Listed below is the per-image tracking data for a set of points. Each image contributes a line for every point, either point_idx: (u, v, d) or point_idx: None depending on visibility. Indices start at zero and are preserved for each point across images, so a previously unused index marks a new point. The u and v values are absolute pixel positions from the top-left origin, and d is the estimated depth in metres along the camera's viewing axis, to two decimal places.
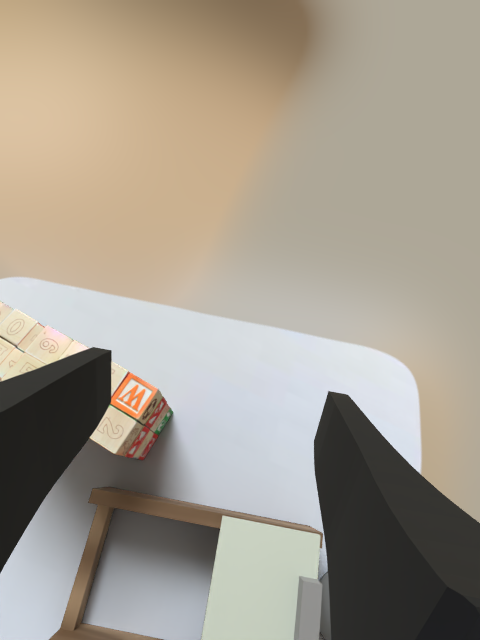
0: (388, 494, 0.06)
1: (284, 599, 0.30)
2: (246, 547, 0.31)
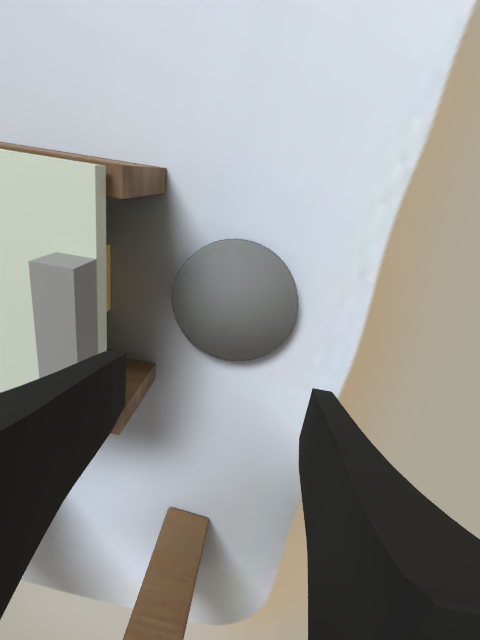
0: (361, 488, 0.06)
1: None
2: None
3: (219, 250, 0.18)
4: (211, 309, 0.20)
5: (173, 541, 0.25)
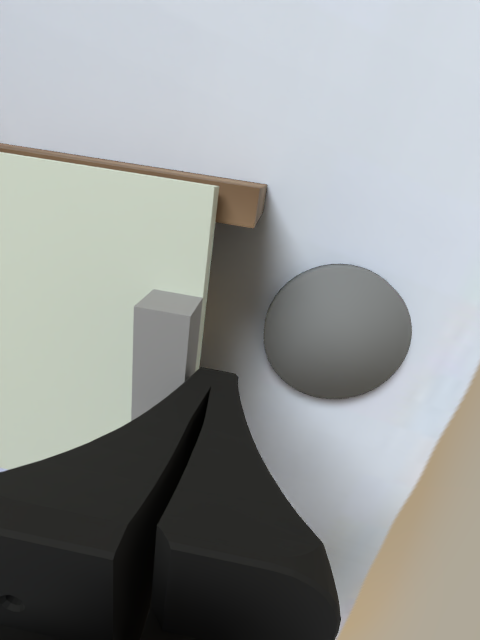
0: (197, 456, 0.07)
1: (120, 335, 0.12)
2: (4, 224, 0.11)
3: (325, 278, 0.16)
4: (308, 342, 0.17)
5: None
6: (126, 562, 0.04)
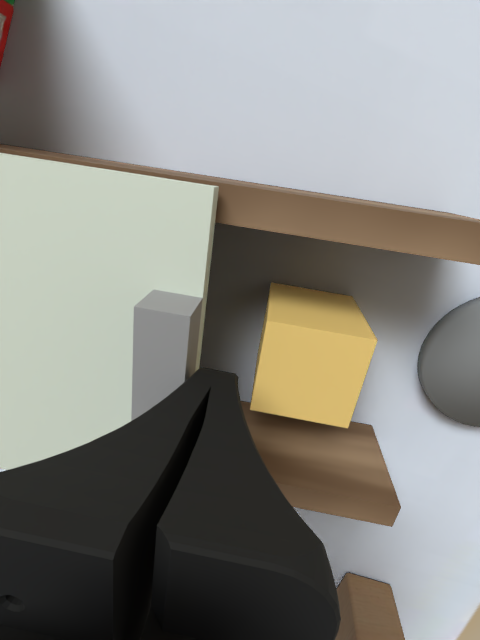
0: (197, 456, 0.07)
1: (120, 335, 0.12)
2: (4, 225, 0.11)
3: None
4: (471, 371, 0.17)
5: (370, 618, 0.22)
6: (126, 562, 0.04)
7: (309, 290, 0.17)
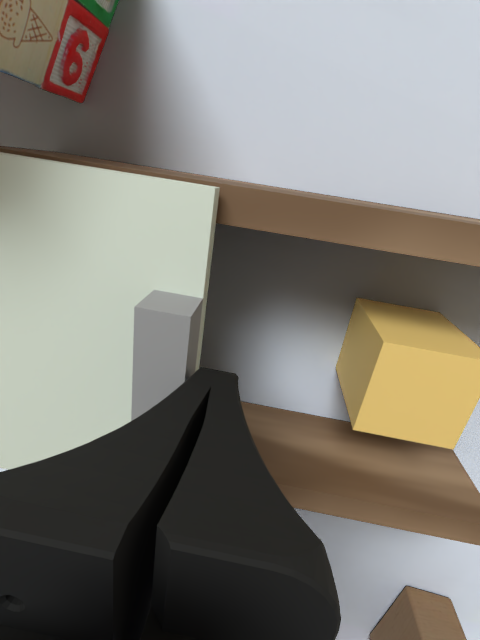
0: (197, 456, 0.07)
1: (121, 335, 0.12)
2: (5, 224, 0.11)
3: None
4: None
5: (436, 633, 0.22)
6: (126, 562, 0.04)
7: (396, 306, 0.17)
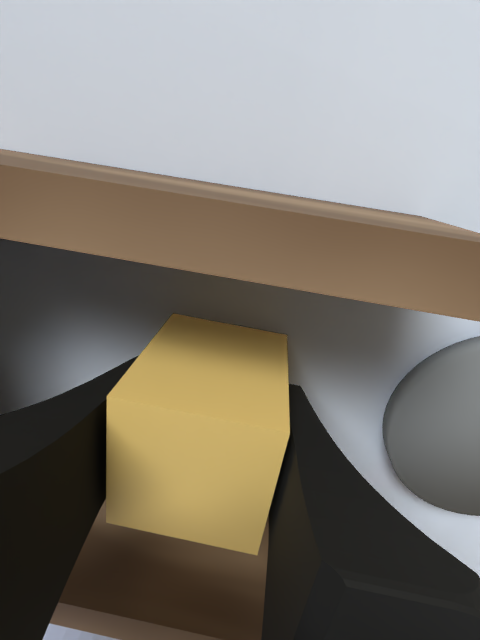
0: (306, 478, 0.06)
1: None
2: None
3: None
4: (457, 444, 0.12)
5: None
6: None
7: (225, 325, 0.12)
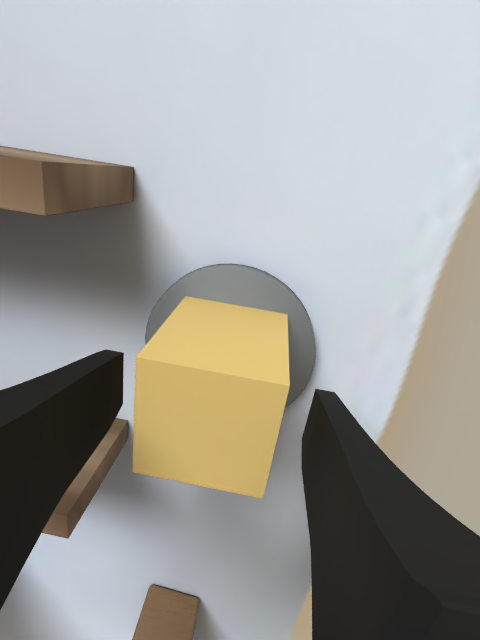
0: (366, 490, 0.06)
1: None
2: None
3: (208, 280, 0.13)
4: None
5: (154, 637, 0.20)
6: None
7: (232, 306, 0.13)
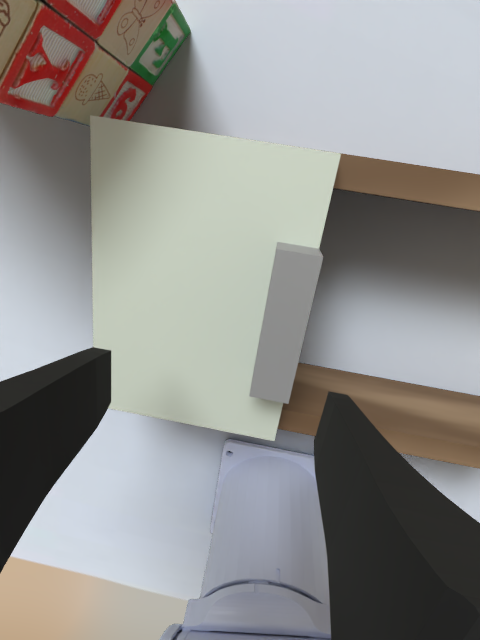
0: (388, 494, 0.06)
1: (242, 283, 0.14)
2: (156, 186, 0.13)
3: None
4: None
5: None
6: None
7: None
